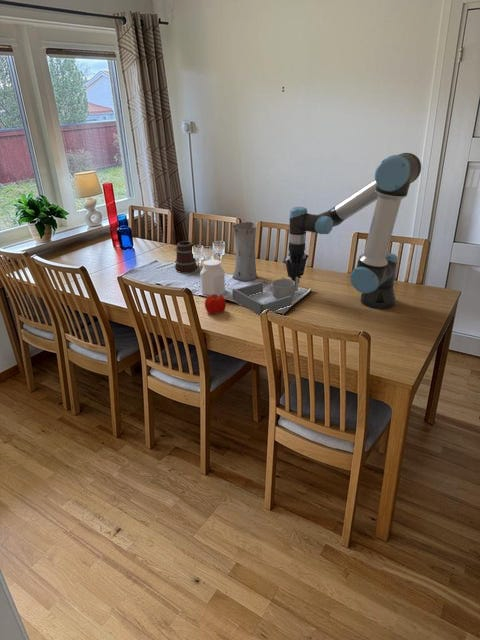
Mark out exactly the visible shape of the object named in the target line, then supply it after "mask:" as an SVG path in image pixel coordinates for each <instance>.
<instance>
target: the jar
mask: <svg viewBox="0 0 480 640" xmlns="http://www.w3.org/2000/svg"><path fill="white" fill-rule="evenodd" d="M202 264H203V268H202V269H201V271H200V272H199V273H200V274H199V275H200V283H201V284H200V285H201V286H200V287H201V294H202V295H208V296H211V295H212V294H216V295H222V296H223V295H224V294H225V293H226V285H225V282H226V279H225V270H224V269H223V267H222V263H221V261H220V260H218V259H206V260H205V261H203V262H202ZM223 293H224V294H223Z"/></svg>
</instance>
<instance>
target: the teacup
mask: <svg viewBox="0 0 480 640" xmlns="http://www.w3.org/2000/svg"><path fill="white" fill-rule="evenodd" d="M270 284H271V291H272V292H271V293H272V296H273V297H274V298H275V300H277V299H280V298H283V297H287V296H290V295H291V296H292V298H293V297H294V296H295V293H296V291H295V281H293V280H292V278H285V277H281V278H279V279H275V280H273V281H272V282H271V283H270Z"/></svg>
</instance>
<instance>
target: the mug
mask: <svg viewBox="0 0 480 640" xmlns="http://www.w3.org/2000/svg"><path fill="white" fill-rule="evenodd" d="M194 245H195V244H194V243H193V242H192V241H188V240H184V241H183V240H182V241H179V242H178V243H176V248H175V249H174V251H175V252H176V258H175V261H174V262H175V266H174V268H175V269H176V270H177V271H180V272H179V273H182V272H188V273H193V272H196V271H197V270H198V264H197V259H196V258H195V259H196V260H195V259H194V258H193V254H192V246H194ZM175 269H174V270H175ZM176 270H175V271H176ZM195 270H196V271H195ZM177 271H176V272H177ZM192 271H193V272H192Z"/></svg>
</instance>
